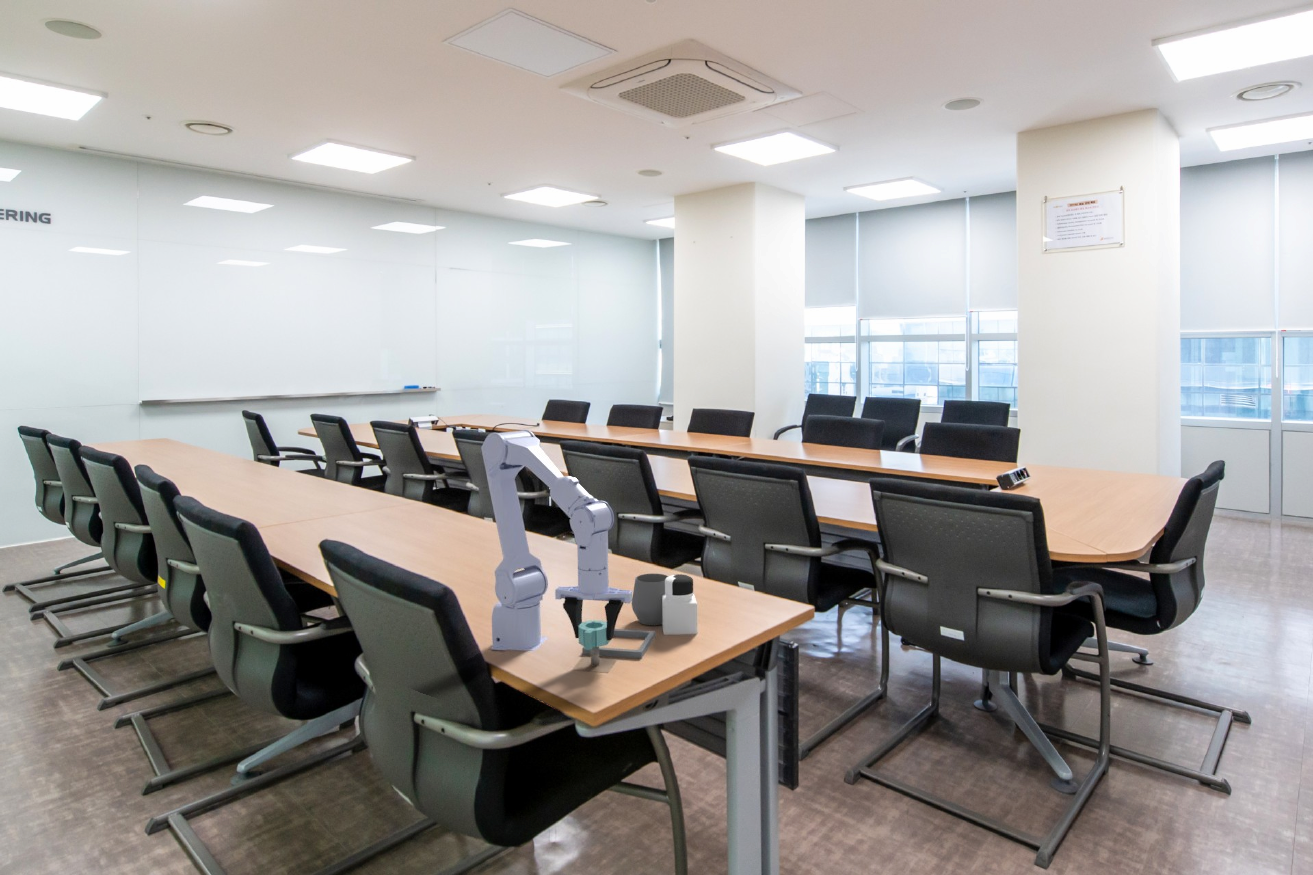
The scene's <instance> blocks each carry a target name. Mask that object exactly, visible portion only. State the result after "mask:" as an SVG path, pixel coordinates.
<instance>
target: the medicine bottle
mask: <svg viewBox="0 0 1313 875" xmlns="http://www.w3.org/2000/svg"><path fill="white" fill-rule="evenodd" d="M661 625H662V632H663V635H664V636H667V635H668V636H669V635H697V634H698V602H697V599H696V595H695V594H694V579H693V577H691V576H690V575H686V574H672V575H669V577H667V578H666V579H665V595H663V596H662V624H661Z"/></svg>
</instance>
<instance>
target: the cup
mask: <svg viewBox="0 0 1313 875" xmlns="http://www.w3.org/2000/svg"><path fill="white" fill-rule="evenodd" d="M669 576H670V575H669ZM669 576H668V575H667V574H663V573H656V572H655V573H654V572H653V573H644V574H639V575H637V576H636V577H634V578H635V579H634V586H633V590H632V601H631V608H632V611H633V613H634V616H635V617H636V618H637V621H638V622H639V623H641V624H643V625H646V626H660V625H662V596H663V595H665V579H666V578H667V577H669Z"/></svg>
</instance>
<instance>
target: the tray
mask: <svg viewBox="0 0 1313 875" xmlns="http://www.w3.org/2000/svg"><path fill="white" fill-rule="evenodd" d="M613 637H622V638H636V639H638V638H639V639H644V640H643V642H642V643H641V645H640V646H639V648H638V649H628V648H627V649H626V648H613V647H611V648H610V647H602V646H600V647H599V657H600V656H601V657H602V656H603V657H612V658H613V657H614V658H616V657H617V658H626V659H627V658H628V659H629V658H630V659H631V658H632V659H643V657H644V656H645V654H646V653H647V651H648V649H649V648H650V647H651V644H652V643H653V641H654V640H655V638H656V631H655V630H642V629H641V630H640V629H627V628H625V629H623V628H615V629H614V636H613ZM581 649H582V653H581V654H582V655H583V656H585V655H586V656H591V650H585V646H582V648H581Z"/></svg>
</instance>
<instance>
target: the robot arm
mask: <svg viewBox="0 0 1313 875" xmlns="http://www.w3.org/2000/svg"><path fill="white" fill-rule="evenodd" d="M541 447H542V446H541V440H540V439H539V438H538V437H536V435H535V434H534V433H533V431H531V430H529V429H522V430H516V431H507V432H506V431H505V432H491V433H489V434H488V435H487V436H486V437H485V439H484V442H483V443H482V445H481V446H480V448H481V449H480V450H481V454H482V458H483V465H484V468H485V473H486V479H487V484H488V489H489V495H490V498H491V504H492V509H493V514H494V518H495V523H496V524H495V525H496V528H497V533H498V539H499V543H500V548H501V552H502V553H501V554H502V557H503V559H502V560H501V562H500V563H499V565H498V566H497V567H496V568H495V570H494V576H495V585H494V592H495V597H496V598H497V600H498V602H496V603H495V605H494V606H493V609H492V613H491V637H492V638H491V639H492V641H491V642H492V645H491V647H490V649H491V650H492V651H506V650H512V651H513V650H514V651H515V650H517V651H530V652H531V651H532V652H535V651H536V650H537V649H539V647H540V646H542V645H543V643H544V642H546V640H547V639H549V637H548V636H544V637H543V636H542V627H541V626H542V625H541V601H543V599H544V598H543V597H544V596H543V595H545V594H546V592H547V590H548V588H549V582H548V576H547V574H546V572H545V571H544V569H543V566H542V562H541V560H540V559H539V558H538V557H536V556H535V555H533V554H532V553H531V552H530V546H529V543H528V542H529V541H528V538H527V533H526V530H525V529H526V528H525V523H524V518H523V514H522V509H521V505H520V499H519V495H518V490H517V489H518V488H517V484H516V480H515V479H516V477H517V475H518V473H519V472H520V471H521V470H523V468H524V467H526V468H528V470H530V472H532V474H534V475H535V476H536V477H537V478H538V479H540V480H541V482H543V483H544V484H545V485H546V486H547V487H548V488H550V490H549V496H550V499H552V501H553V502H554V503H555V504H556V505H557V506H558V507H559V508H560V509H561V510H562V511H563V513H564V514H565V515H566V516H567V517H568V518H570V519H569V524H570V529H571V530H572V532H573V534H574V542H575V544H576V546H577V585H574V586H558V587H556V588H555V589H554V591H555V592H554V595H555V600H562V599H564V602H563V603H562V608H563V610H564V611H565V612H566V614H567V616H568V619H569V620H570V623H571V626H572V628H573V629H572V630H573V634H574V638H575V639H579V632H578V626H579V625H580V624H581V623H583V603H584V601H601V602H607V603H606V604H605V606H604V611H605V618H606V622H607V640H610V641H612V639H613V638H614V637H615V636H614V629H616V624H617V621H618V617H619V615H620V612H621V610H622V608H623V606H624V604H631V603H632V598H633V590H631V589H630V590H629V589H621V588H617V587H610V586H609V536H608V535H609V532H608V531H610V529H612V527H613V526H614V523H615V516H614V515H615V514H614V512H613V509H612V507H611V506H610V504H609V503H608V502H607V501H605V500H599V499H597V498H595V497H594V496H593V495H592V494H590V493H589V492H588V491H587V490H586V489H585V488H584V487H583V486H582V485H581V484H580V480H578V479H577V478H576V477H573V476H571V475H567V476H564V475H563V473H561V471H560V470H559V469H558V468H557V466H556V465H555V464H554V463H553V461H552V460H551V459H550V458H549V456H548V455H547V454H546V453H545V452H544V451H543V449H542V448H541ZM521 569H522V570H521Z"/></svg>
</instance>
